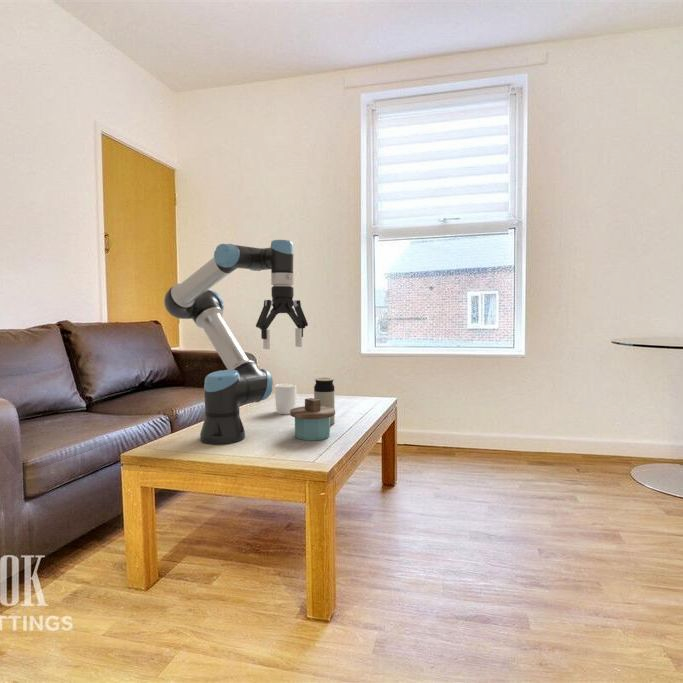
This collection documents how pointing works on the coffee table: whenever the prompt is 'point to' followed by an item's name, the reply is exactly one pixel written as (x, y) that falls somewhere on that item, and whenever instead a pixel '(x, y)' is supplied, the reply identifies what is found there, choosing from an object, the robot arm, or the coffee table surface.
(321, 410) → the lid
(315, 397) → the travel mug
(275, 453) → the coffee table surface
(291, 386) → the candle holder
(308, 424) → the bowl
